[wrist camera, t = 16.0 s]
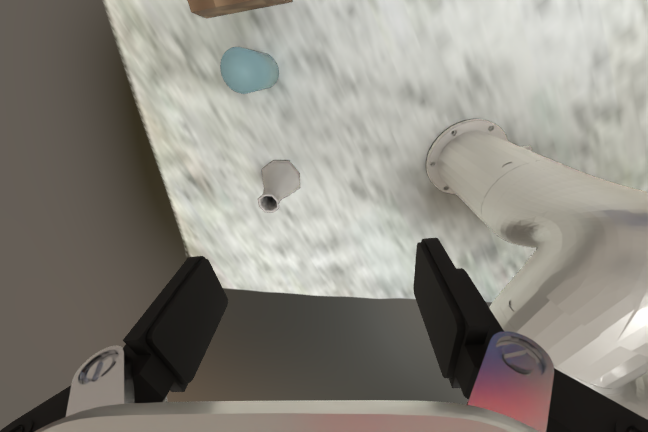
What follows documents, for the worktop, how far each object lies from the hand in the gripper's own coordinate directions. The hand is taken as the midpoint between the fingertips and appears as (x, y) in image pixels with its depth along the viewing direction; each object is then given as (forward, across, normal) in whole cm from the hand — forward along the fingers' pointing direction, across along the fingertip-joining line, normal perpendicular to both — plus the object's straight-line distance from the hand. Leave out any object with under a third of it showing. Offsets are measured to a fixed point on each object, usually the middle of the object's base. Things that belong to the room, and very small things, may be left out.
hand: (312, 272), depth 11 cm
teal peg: (+33, +9, -9) cm, 36 cm away
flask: (+34, +10, +8) cm, 36 cm away
